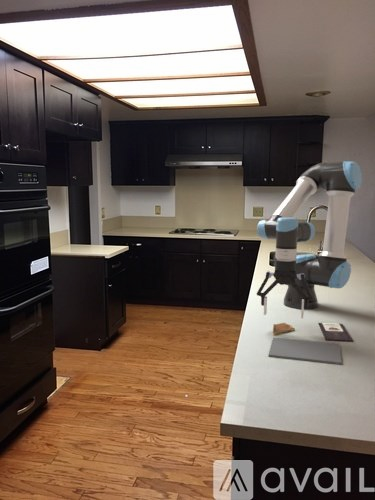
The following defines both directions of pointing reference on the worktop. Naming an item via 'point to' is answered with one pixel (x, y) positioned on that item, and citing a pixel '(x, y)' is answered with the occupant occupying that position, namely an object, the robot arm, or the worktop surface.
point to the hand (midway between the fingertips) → (283, 315)
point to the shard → (282, 328)
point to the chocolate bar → (335, 332)
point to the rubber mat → (305, 350)
